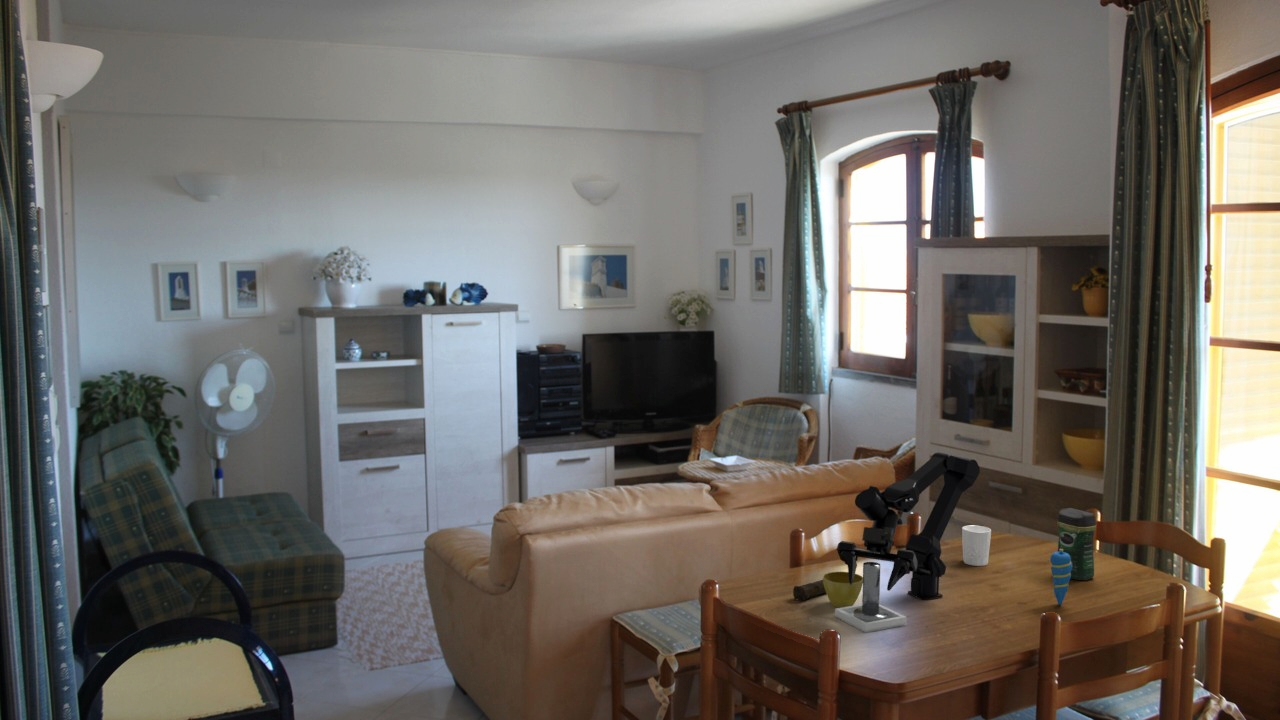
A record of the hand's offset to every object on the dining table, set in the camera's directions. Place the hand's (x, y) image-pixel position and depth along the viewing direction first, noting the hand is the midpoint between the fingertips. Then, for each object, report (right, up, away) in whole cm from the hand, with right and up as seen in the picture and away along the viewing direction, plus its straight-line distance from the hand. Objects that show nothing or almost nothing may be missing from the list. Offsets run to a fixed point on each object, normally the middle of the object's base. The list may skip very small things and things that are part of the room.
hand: (869, 586), depth 247 cm
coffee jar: (+65, -6, +38) cm, 76 cm away
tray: (+1, -9, +2) cm, 9 cm away
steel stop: (+1, -8, +2) cm, 8 cm away
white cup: (+42, -4, +51) cm, 66 cm away
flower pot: (-4, -8, +14) cm, 16 cm away
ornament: (+51, -8, +14) cm, 54 cm away
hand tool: (-7, -7, +23) cm, 25 cm away
